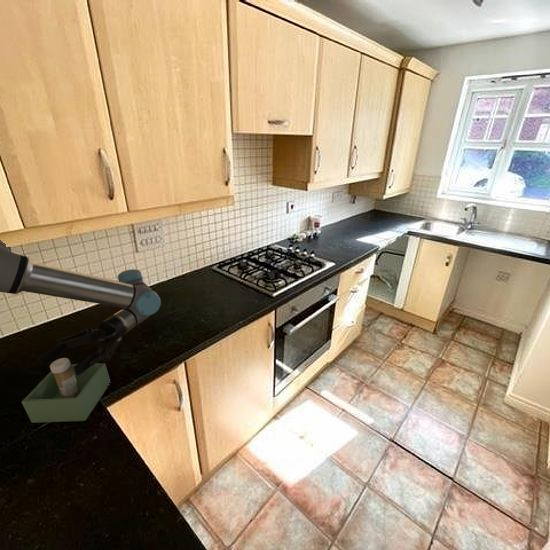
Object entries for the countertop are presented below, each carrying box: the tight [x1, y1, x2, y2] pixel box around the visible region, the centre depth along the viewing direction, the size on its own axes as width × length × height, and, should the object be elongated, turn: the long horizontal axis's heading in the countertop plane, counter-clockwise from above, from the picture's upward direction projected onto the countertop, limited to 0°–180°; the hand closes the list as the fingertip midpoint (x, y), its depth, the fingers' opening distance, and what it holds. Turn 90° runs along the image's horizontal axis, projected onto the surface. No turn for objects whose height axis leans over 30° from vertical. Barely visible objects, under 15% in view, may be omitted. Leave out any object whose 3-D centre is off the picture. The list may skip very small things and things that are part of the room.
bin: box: [21, 362, 112, 424], centre depth 87 cm, size 15×15×8 cm
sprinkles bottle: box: [49, 357, 80, 398], centre depth 86 cm, size 5×5×14 cm
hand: (57, 366), depth 82 cm, fingers open, 13 cm apart
